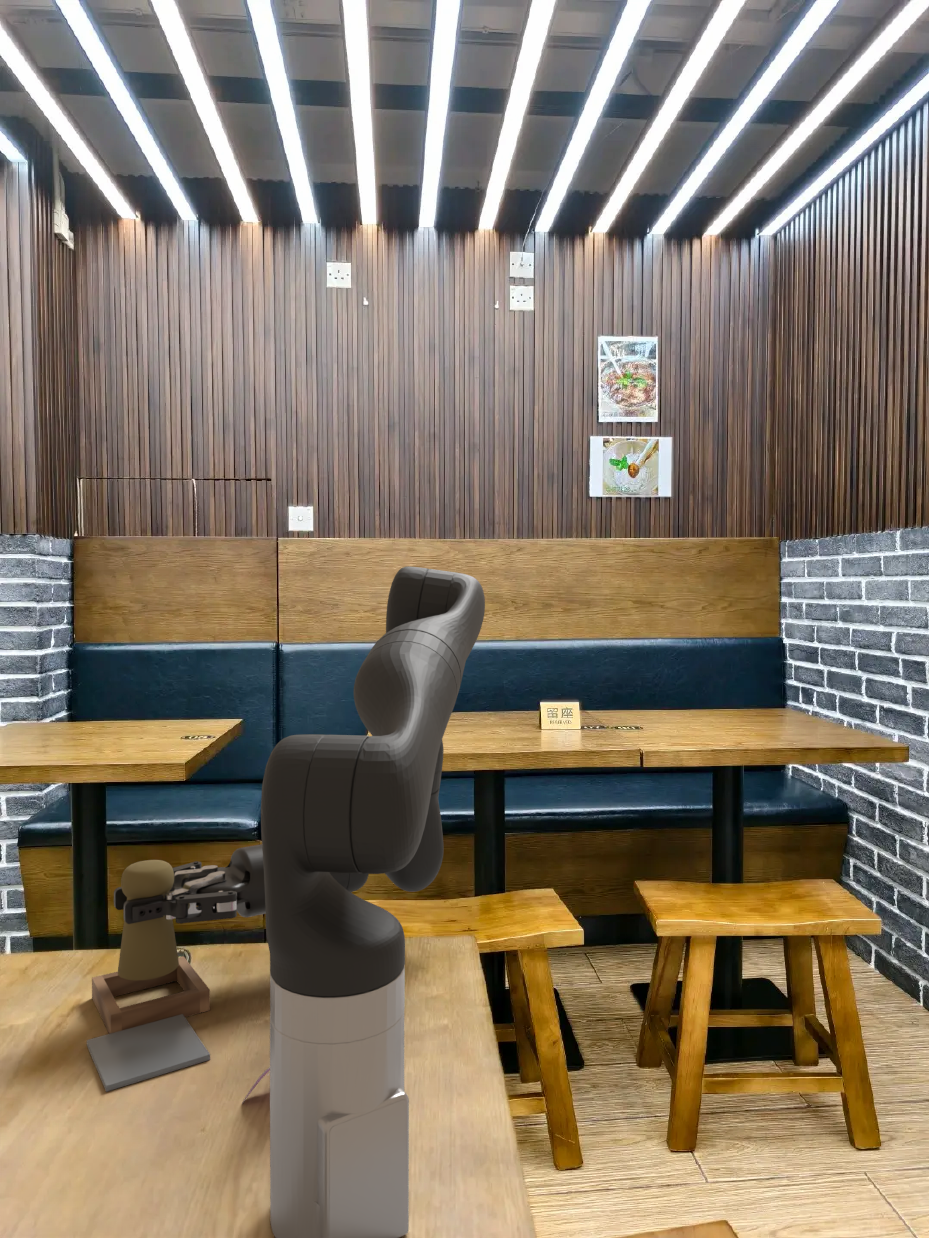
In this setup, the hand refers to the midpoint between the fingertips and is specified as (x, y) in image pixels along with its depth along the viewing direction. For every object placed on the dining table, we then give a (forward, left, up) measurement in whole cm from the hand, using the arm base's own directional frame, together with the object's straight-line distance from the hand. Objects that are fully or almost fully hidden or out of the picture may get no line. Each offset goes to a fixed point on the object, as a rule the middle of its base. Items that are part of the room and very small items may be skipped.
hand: (120, 905), depth 85 cm
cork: (0, -3, -7) cm, 8 cm away
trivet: (-9, 0, -11) cm, 14 cm away
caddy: (0, -3, -11) cm, 11 cm away
